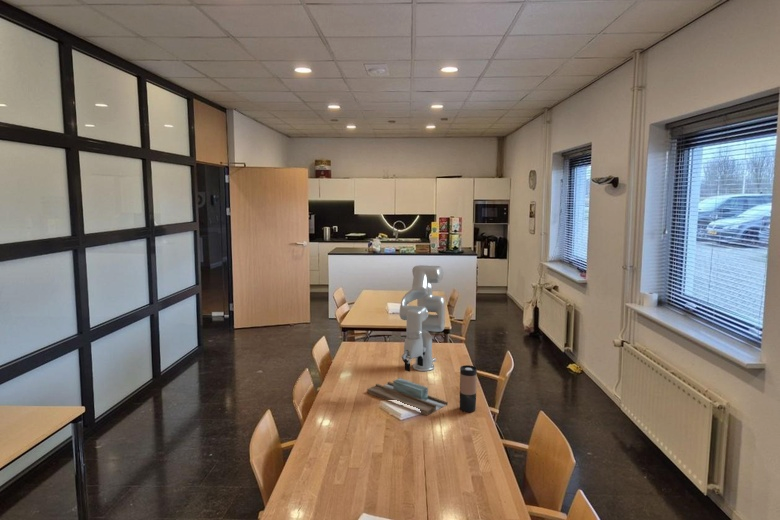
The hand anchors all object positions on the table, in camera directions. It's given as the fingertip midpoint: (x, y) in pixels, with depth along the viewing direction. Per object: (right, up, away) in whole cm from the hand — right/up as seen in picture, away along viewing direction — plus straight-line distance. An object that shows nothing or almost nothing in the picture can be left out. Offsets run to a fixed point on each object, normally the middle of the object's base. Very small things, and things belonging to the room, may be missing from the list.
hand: (413, 368), depth 237 cm
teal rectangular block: (-2, -14, 0) cm, 14 cm away
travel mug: (+24, -16, -15) cm, 33 cm away
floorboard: (-4, -14, -3) cm, 15 cm away
